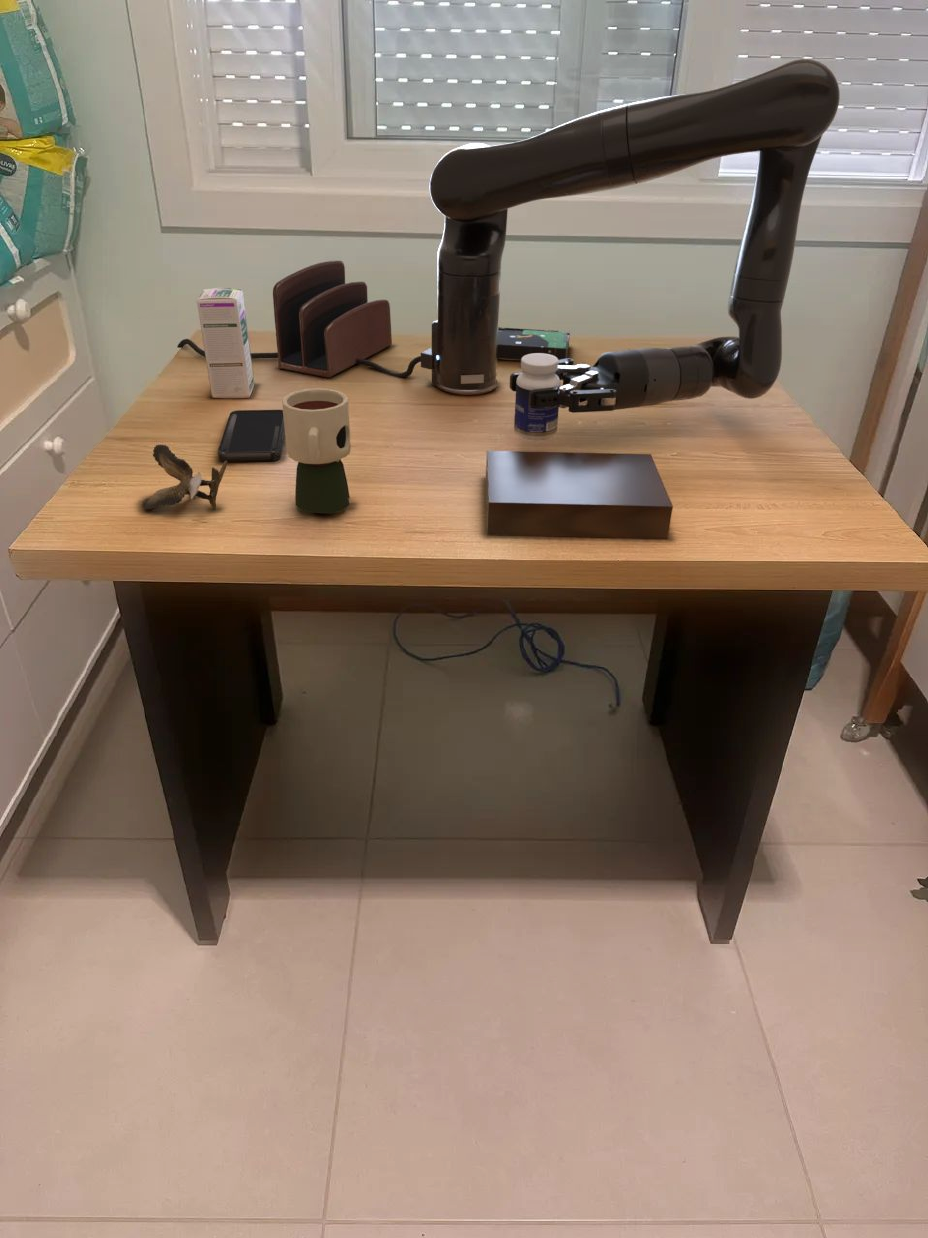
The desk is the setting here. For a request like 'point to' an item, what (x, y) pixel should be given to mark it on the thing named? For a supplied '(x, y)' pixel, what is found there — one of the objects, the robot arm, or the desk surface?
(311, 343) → the letter holder
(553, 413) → the pill bottle
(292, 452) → the character mug
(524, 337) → the disk drive
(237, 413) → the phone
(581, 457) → the walnut stand
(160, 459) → the eagle figurine
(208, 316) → the syrup box
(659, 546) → the desk surface
